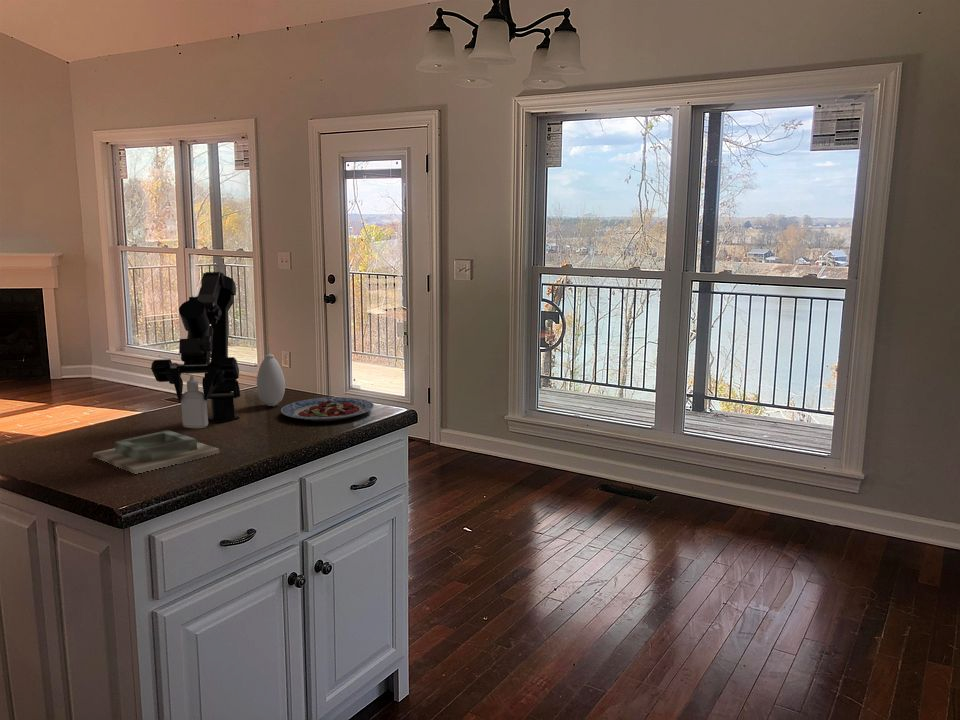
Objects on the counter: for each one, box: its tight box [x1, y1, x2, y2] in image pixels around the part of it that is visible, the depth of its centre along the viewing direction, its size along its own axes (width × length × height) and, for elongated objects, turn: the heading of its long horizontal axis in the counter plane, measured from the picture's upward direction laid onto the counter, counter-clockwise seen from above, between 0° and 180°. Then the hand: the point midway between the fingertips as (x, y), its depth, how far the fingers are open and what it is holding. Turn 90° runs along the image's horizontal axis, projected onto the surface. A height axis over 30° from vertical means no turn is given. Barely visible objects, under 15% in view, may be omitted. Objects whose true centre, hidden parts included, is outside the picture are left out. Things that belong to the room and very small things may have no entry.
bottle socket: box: [93, 429, 220, 475], centre depth 178 cm, size 20×20×4 cm
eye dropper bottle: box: [180, 374, 209, 429], centre depth 176 cm, size 4×6×12 cm
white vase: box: [256, 345, 286, 407], centre depth 226 cm, size 8×8×18 cm
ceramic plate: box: [280, 396, 375, 422], centre depth 217 cm, size 26×26×3 cm
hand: (192, 400), depth 175 cm, fingers closed on eye dropper bottle, 5 cm apart
